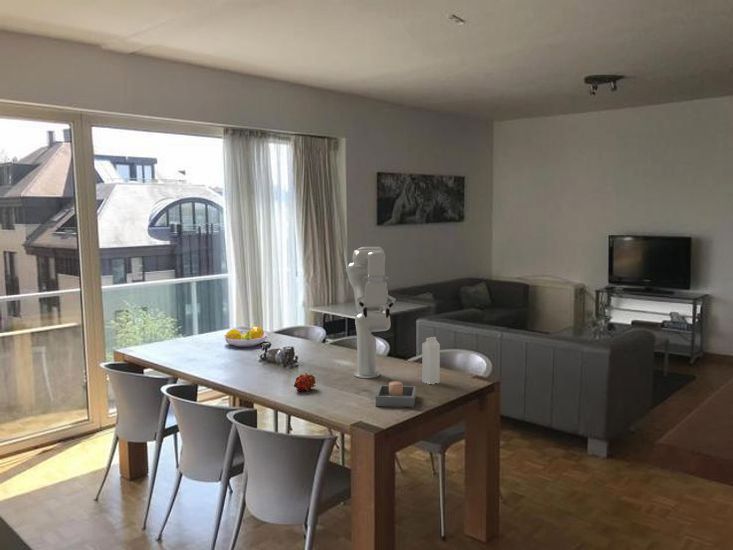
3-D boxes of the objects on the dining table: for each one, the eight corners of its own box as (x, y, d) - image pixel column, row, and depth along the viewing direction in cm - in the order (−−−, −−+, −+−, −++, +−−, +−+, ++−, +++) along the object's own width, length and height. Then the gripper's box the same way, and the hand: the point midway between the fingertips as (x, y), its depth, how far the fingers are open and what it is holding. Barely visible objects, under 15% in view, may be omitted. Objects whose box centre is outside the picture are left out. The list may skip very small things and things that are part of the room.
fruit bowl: (228, 340, 378) (228, 322, 376) (271, 339, 378) (271, 322, 376) (217, 350, 350) (217, 331, 349) (263, 350, 350) (263, 331, 348)
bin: (380, 394, 265) (379, 385, 265) (415, 395, 263) (415, 386, 263) (375, 406, 250) (375, 396, 249) (413, 408, 247) (413, 397, 247)
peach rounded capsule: (389, 396, 260) (389, 381, 259) (403, 397, 259) (403, 381, 258) (388, 401, 254) (388, 385, 253) (402, 401, 253) (402, 385, 252)
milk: (439, 383, 282) (440, 337, 279) (429, 385, 279) (430, 339, 276) (431, 380, 287) (432, 335, 285) (421, 381, 284) (422, 336, 281)
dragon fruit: (317, 391, 276) (296, 400, 269) (308, 378, 280) (286, 386, 273) (322, 379, 271) (300, 388, 264) (312, 366, 275) (290, 375, 268)
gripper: (396, 278, 267) (396, 315, 269) (358, 278, 270) (358, 315, 271) (394, 280, 260) (394, 319, 262) (355, 280, 262) (356, 318, 264)
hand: (376, 317), depth 267 cm, fingers open, 9 cm apart
